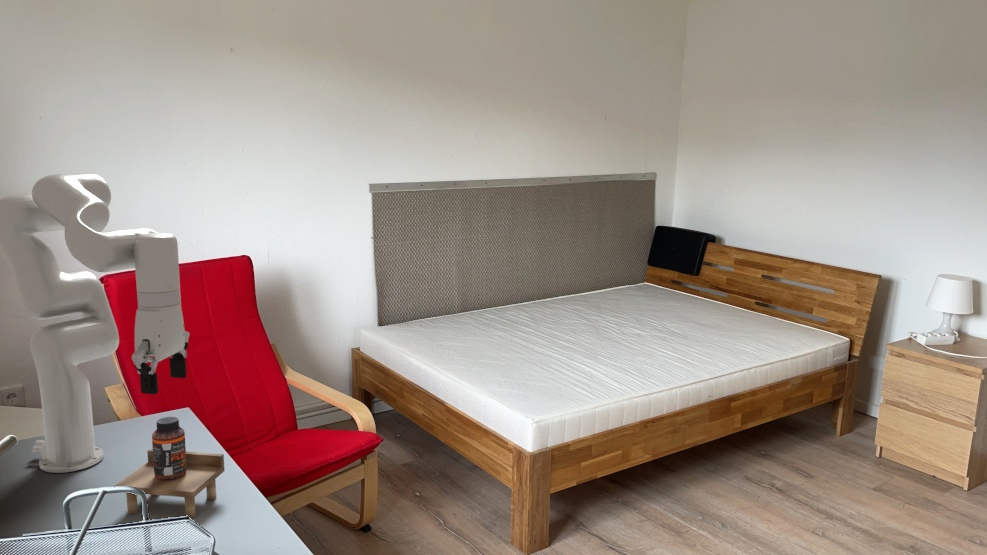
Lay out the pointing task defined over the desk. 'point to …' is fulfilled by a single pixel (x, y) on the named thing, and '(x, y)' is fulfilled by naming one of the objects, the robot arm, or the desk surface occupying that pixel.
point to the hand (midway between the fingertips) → (164, 385)
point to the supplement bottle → (169, 449)
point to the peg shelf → (177, 480)
